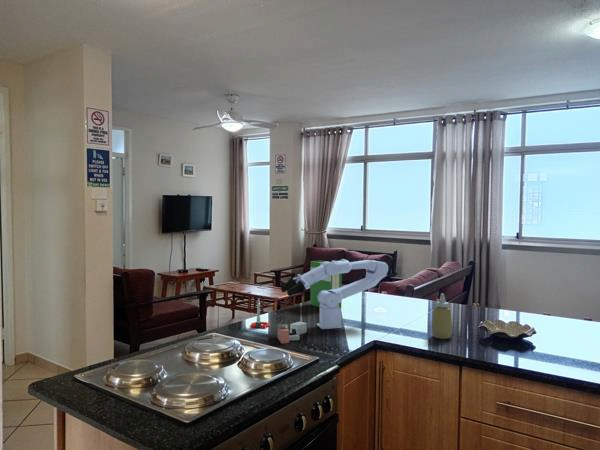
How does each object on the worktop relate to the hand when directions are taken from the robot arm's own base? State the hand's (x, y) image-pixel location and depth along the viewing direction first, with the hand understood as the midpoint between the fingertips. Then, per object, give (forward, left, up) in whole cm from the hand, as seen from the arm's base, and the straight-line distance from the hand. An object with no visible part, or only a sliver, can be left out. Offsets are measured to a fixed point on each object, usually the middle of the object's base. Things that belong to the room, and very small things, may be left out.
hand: (284, 292), depth 184 cm
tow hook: (+9, -11, -17) cm, 22 cm away
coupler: (+2, +13, -17) cm, 21 cm away
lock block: (-5, +4, -17) cm, 18 cm away
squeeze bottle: (-61, +23, -17) cm, 68 cm away
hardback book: (-32, -43, -17) cm, 56 cm away
